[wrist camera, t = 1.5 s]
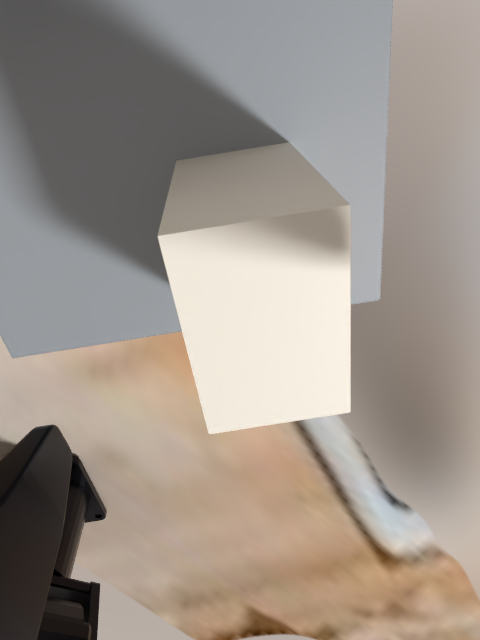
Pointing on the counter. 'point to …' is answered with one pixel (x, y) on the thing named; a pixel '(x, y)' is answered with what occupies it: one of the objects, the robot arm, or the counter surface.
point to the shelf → (167, 142)
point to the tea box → (260, 285)
